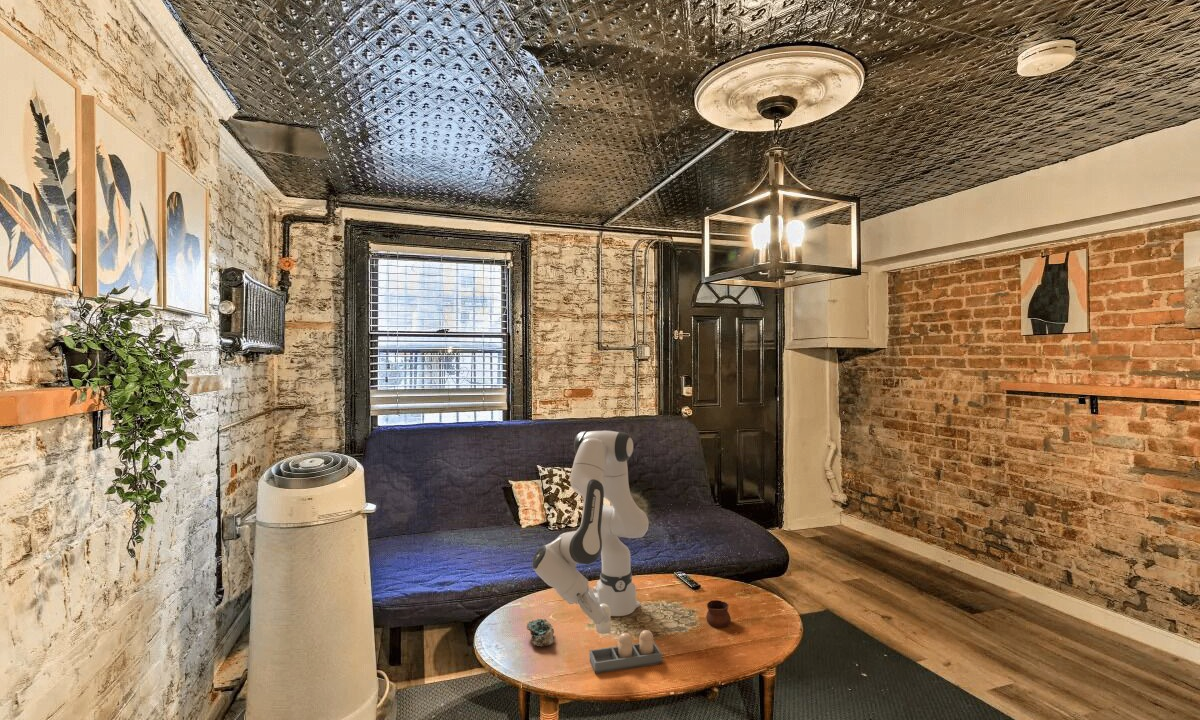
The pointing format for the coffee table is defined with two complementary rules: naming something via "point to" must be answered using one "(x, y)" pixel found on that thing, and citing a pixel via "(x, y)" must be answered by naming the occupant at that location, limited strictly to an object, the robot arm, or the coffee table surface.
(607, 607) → the cream round-topped peg
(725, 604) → the ceramic pot
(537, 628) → the mineral specimen
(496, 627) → the coffee table surface
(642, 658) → the carton
